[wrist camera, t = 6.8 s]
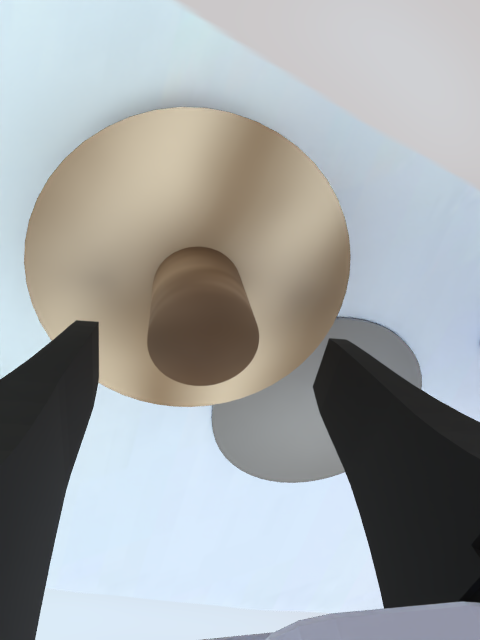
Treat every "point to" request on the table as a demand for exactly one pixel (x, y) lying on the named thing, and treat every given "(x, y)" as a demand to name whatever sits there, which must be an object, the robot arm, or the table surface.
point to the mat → (300, 412)
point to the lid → (189, 254)
